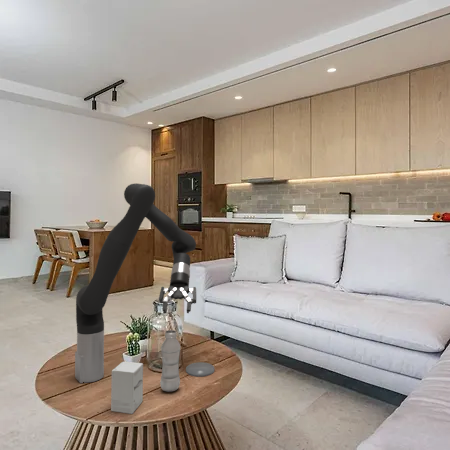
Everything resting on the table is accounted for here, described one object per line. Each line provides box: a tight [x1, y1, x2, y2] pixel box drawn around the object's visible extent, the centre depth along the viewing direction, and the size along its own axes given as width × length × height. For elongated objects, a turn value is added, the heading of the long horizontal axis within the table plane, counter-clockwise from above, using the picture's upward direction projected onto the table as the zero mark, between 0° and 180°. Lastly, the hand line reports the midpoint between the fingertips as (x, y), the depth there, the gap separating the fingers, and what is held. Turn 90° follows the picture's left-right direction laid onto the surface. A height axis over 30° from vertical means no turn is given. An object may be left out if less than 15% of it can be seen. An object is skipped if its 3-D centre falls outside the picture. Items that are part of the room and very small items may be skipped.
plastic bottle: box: [159, 329, 181, 393], centre depth 121 cm, size 6×7×20 cm
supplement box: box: [110, 361, 144, 415], centre depth 111 cm, size 7×7×13 cm
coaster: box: [185, 361, 215, 378], centre depth 137 cm, size 11×11×1 cm
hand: (176, 312), depth 133 cm, fingers open, 8 cm apart
